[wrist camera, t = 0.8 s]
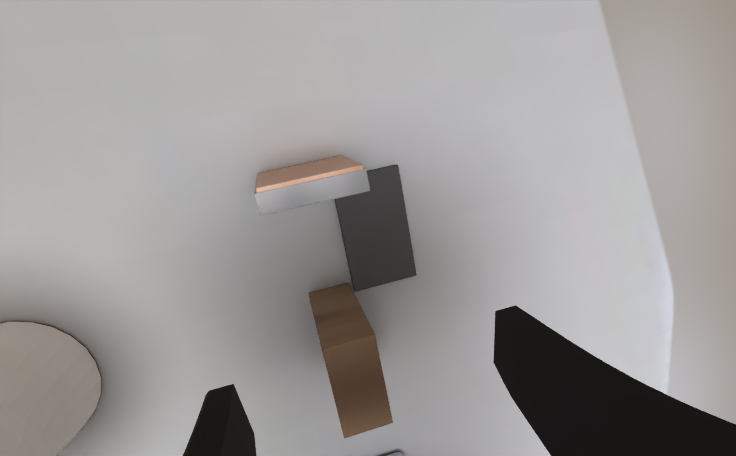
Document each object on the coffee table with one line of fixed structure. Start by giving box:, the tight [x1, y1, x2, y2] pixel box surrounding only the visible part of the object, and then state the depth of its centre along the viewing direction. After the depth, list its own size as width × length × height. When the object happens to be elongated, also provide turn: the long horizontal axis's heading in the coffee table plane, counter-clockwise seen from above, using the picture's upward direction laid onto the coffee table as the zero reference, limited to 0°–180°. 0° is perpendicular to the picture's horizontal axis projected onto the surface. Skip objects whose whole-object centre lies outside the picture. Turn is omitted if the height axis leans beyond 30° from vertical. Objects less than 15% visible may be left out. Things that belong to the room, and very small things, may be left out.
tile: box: [255, 155, 370, 216], centre depth 22 cm, size 1×5×6 cm, turn 101°
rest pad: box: [335, 165, 416, 292], centre depth 27 cm, size 7×4×1 cm, turn 11°
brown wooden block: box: [309, 283, 393, 438], centre depth 25 cm, size 5×2×7 cm, turn 11°
